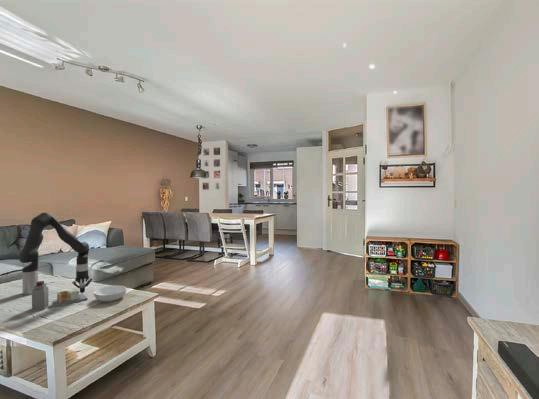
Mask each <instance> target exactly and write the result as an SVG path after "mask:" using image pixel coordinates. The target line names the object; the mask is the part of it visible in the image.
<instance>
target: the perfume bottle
mask: <svg viewBox="0 0 539 399" xmlns="http://www.w3.org/2000/svg"><path fill="white" fill-rule="evenodd" d="M48 307H49V286H47V283H45V281H44V280H38V282H37V283H36V285H35V286H34V289H33V290H32V294H31V312H33V311H34V312H35V311H42V310H46V309H47V308H48Z"/></svg>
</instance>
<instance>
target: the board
mask: <svg viewBox="0 0 539 399" xmlns="http://www.w3.org/2000/svg"><path fill="white" fill-rule="evenodd" d="M87 300H88V297H87V296H85V294H84V293H79V299H75V300H71V301H67V302H62V303H59V302H58V301H57V299H54V300H52V303H53V304H54V306H55V307H56V308H58V307H63V306H67V305H71V304H75V303H79V302H84V301H87Z"/></svg>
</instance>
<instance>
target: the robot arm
mask: <svg viewBox="0 0 539 399" xmlns="http://www.w3.org/2000/svg"><path fill="white" fill-rule="evenodd" d="M47 226H51V227H53V229H55V231H56V233H57V236H58V237H59V239H60V240H61V241H62V242H64V243H65V244H66V245H68V246H70V248H71V249H72V250H73V251H75V252H76V253H77V257H76V266H75V280H74V281H72V282H71V283H72V284H73V285H74V286H75V287H76V288H77V289H79V293H80V294H84V293H85V292H86V287H88V286H89V284H90V283H92V281H93V278H90V275H89V258H88V257H89V252H90V245H89V244H88V242H86V241H81V240H78V237H77V236H76V235H74V234H73V233H71V232H70V231H68V230H67V229H66V228H65V227H64V226H63V225H62V224H61V223H60V222H59V221H58V220H57V219H55V217H54V216H53V215H51V214H50V213H48V212H42V213H39V214H38V215H37V216H34V217H33V218H31V221H30V226H29V231H28V234H27V237H26V239H25V242H24V245H23V248H22V250H21V251H20V253H19V256H18V259H19V262H20V263H21V264H28V263H29V264H28V265H26V266H24V267H23V268H22V270H21V271H22V272H21V273H22V278H21V279H22V286H21V287H22V295H24V296H29V295H32V290H33V289H34V286H35V285H36V283H37V282H38V281H39V256H40V255H39V250H37V248H38V247H40V246H41V244H42V243H43V240H44V234H43V233H42V231H43V230H44V229H45V228H47ZM77 283H78V284H79V285H78V284H77Z"/></svg>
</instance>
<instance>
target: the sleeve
mask: <svg viewBox="0 0 539 399" xmlns="http://www.w3.org/2000/svg"><path fill="white" fill-rule="evenodd" d="M69 291H70V290H68V289H67V290H63V291H59V292H56V294H57V296H56V300H57V301H58V302H59V303H62V302H67V301H70V292H69Z"/></svg>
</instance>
